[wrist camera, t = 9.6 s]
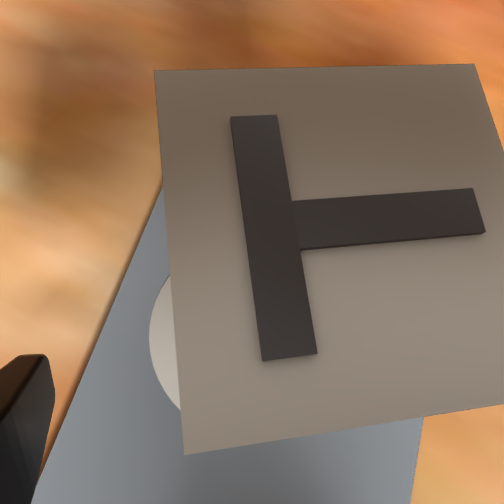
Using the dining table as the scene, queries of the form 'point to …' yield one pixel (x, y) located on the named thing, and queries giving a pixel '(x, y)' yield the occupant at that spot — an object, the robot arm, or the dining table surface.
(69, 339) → the dining table surface
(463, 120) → the letter block
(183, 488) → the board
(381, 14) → the dining table surface
